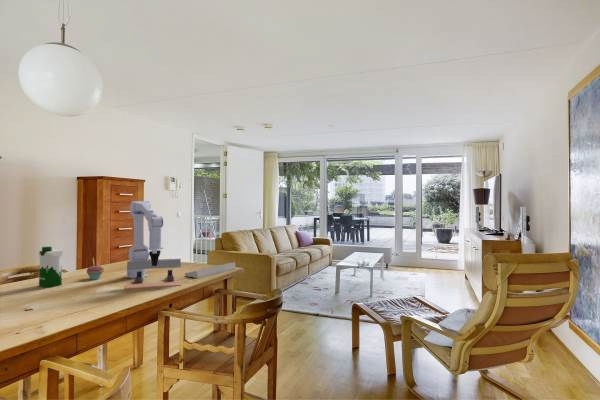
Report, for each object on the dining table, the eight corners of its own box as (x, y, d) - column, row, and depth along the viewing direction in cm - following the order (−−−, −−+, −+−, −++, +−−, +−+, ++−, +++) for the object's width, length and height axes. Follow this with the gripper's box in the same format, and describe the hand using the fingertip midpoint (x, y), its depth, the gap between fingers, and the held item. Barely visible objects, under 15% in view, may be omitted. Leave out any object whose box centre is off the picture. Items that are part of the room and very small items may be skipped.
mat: (124, 289, 175) (124, 288, 175) (126, 285, 184) (126, 284, 184) (181, 285, 185) (181, 284, 185) (180, 281, 194) (180, 281, 194)
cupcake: (82, 279, 194) (83, 257, 194) (96, 276, 202) (97, 255, 202) (93, 280, 191) (94, 259, 191) (107, 277, 199) (107, 256, 199)
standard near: (133, 284, 185) (133, 275, 185) (135, 280, 195) (135, 271, 195) (142, 284, 186) (142, 274, 186) (143, 279, 197) (143, 270, 197)
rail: (126, 270, 179) (127, 262, 179) (127, 268, 183) (127, 260, 183) (180, 267, 188) (180, 259, 188) (180, 265, 192) (180, 258, 192)
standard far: (165, 282, 191) (166, 273, 191) (165, 278, 201) (165, 269, 201) (174, 282, 192) (174, 273, 192) (173, 277, 202) (174, 269, 202)
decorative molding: (186, 281, 207) (198, 278, 203) (184, 273, 208) (196, 270, 203) (224, 271, 237) (236, 269, 233) (223, 264, 238) (234, 262, 233)
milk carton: (35, 286, 177) (36, 246, 177) (54, 282, 185) (55, 245, 185) (46, 288, 173) (47, 248, 173) (64, 284, 182) (65, 246, 182)
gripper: (163, 241, 180) (162, 267, 180) (163, 237, 194) (162, 262, 194) (148, 241, 178) (147, 268, 178) (149, 238, 191) (148, 263, 191)
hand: (154, 265), depth 185 cm, fingers closed on rail, 4 cm apart
